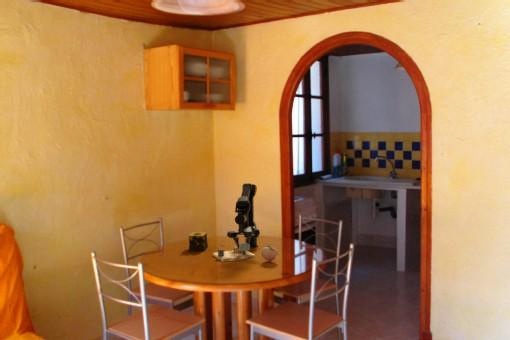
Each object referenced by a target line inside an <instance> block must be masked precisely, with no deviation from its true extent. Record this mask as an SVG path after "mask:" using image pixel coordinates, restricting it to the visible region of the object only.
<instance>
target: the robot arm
mask: <svg viewBox="0 0 510 340" xmlns="http://www.w3.org/2000/svg"><path fill="white" fill-rule="evenodd" d="M241 188H242V191H241V195H240V197H239V198H238V197H237V201H236V202H235V209H234V214H235V213H236V214H237V215H236V216H235V217H234V222H235V223H236V225H238V229H237V231H235V230H230V231H228V232H227V233H226V237H228V238H230V239H233V241H234V243H235V246H237V248H238V249H239V243H240V242H239V239H240V237H238V236H243V238H245V242H244V243H249V244H250V249H251V248H257V247H259V246H258V242H257V240H258V238H259V237H260V234H261V230H259V229H258V227H257V224H256V221H255V219H254V218H255V213H254V212H255V209H254V207H255V206H254V198H255V196H256V195H257V192H258V187H257V185H256V184H252V183H247V182H245V183H243V184H242V186H241Z"/></svg>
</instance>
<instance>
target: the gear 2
mask: <svg viewBox="0 0 510 340" xmlns="http://www.w3.org/2000/svg"><path fill="white" fill-rule="evenodd" d="M238 250H239V251H241V250H242V251H245V250H247V251H250V250H251V248H250V244H249V243H245V242H242V243H241V242H239V249H238Z"/></svg>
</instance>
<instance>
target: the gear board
mask: <svg viewBox="0 0 510 340" xmlns="http://www.w3.org/2000/svg"><path fill="white" fill-rule="evenodd" d="M212 256H213V257H215V258H216V259H218V260H219V261H221V262H222V263H224V262H232V261H239V260H246V259H253V258H256V254H255V253H252V252H250V250H245V251H243V252H241V253H235V252H233V250H226V251H225V250H224V249H222V248H218V249H217V252H212Z"/></svg>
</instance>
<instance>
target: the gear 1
mask: <svg viewBox="0 0 510 340" xmlns="http://www.w3.org/2000/svg"><path fill="white" fill-rule="evenodd" d="M232 249H233V252H235V253H241V252H243V251H242V250H241V251H239V250H238V248H237V246H236V245H234V246H233V248H232Z"/></svg>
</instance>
